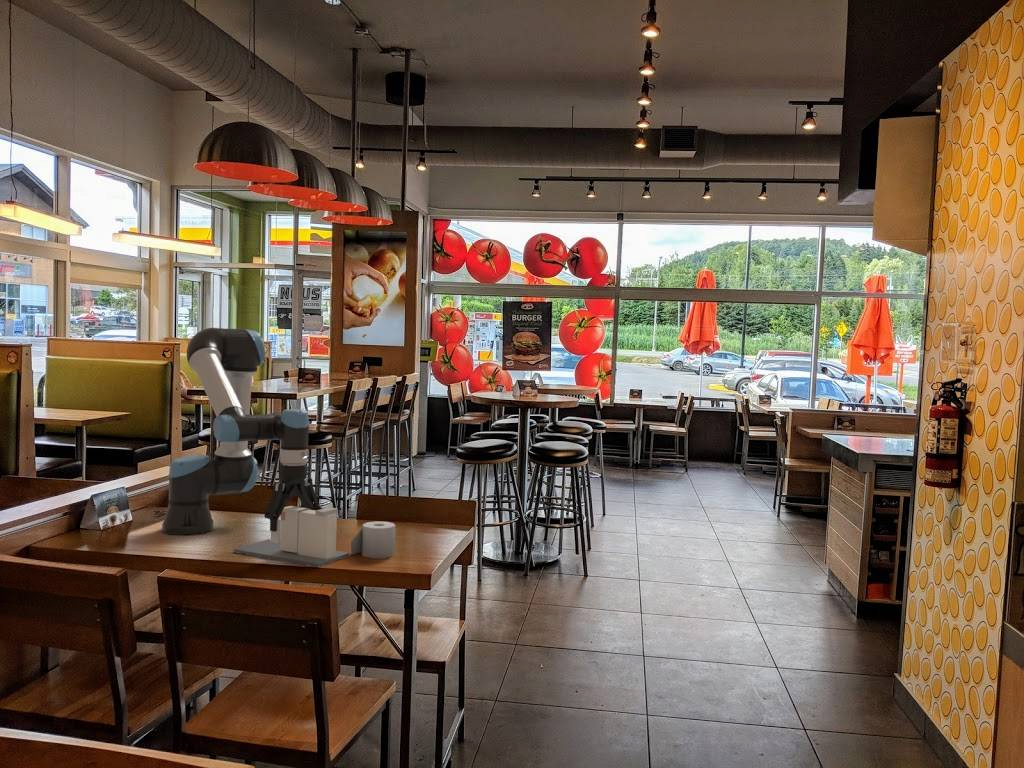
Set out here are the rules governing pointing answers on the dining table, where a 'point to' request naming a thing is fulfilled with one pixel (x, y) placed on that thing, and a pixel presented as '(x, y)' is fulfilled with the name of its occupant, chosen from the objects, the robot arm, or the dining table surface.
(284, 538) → the white upright block
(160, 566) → the dining table surface
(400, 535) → the dining table surface
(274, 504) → the robot arm
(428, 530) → the dining table surface
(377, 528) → the toilet tissue
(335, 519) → the grey bookend stand
